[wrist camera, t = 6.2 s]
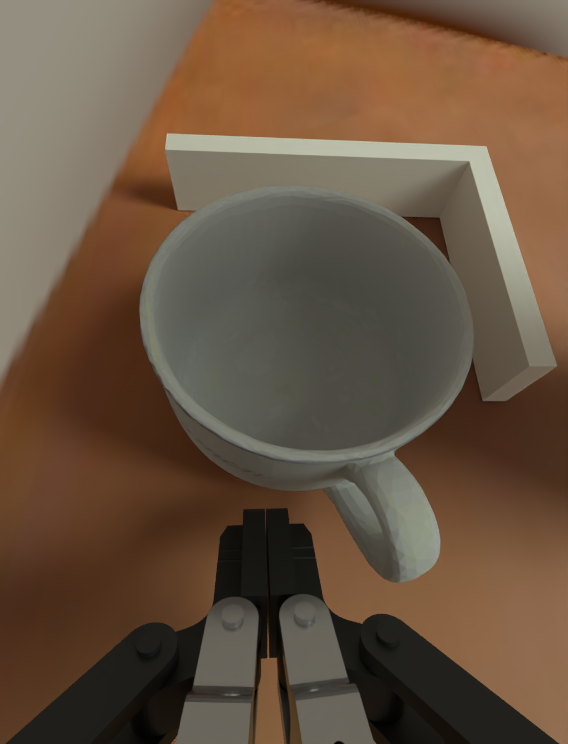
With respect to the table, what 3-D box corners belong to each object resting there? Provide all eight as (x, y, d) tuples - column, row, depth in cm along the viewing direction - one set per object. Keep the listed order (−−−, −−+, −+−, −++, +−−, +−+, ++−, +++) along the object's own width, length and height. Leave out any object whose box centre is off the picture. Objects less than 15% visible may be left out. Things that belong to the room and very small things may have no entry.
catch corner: (454, 203, 27) (486, 146, 23) (505, 400, 21) (557, 366, 18) (179, 195, 26) (167, 133, 22) (157, 401, 20) (136, 364, 16)
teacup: (172, 309, 22) (133, 183, 15) (372, 288, 24) (424, 163, 16) (194, 610, 17) (147, 642, 9) (454, 560, 18) (590, 553, 11)
